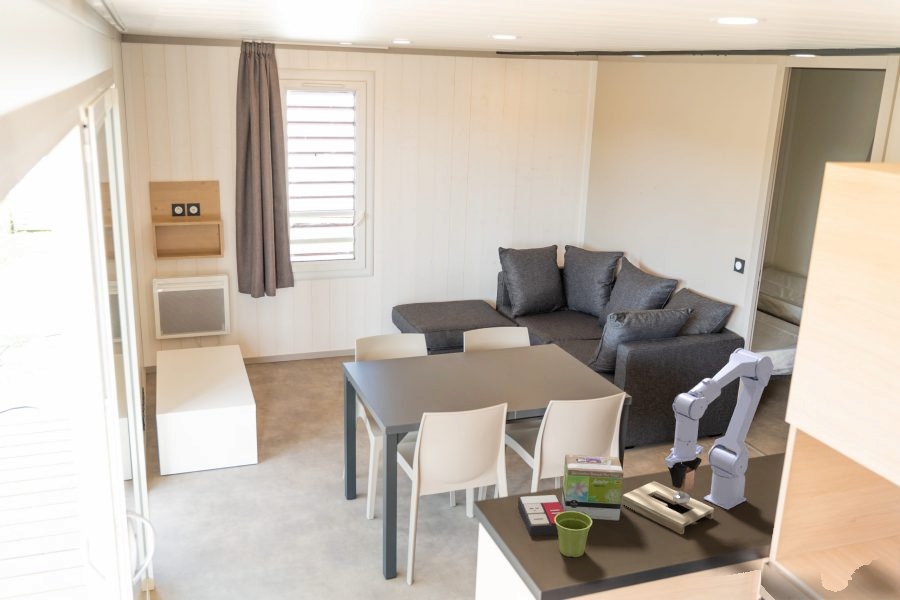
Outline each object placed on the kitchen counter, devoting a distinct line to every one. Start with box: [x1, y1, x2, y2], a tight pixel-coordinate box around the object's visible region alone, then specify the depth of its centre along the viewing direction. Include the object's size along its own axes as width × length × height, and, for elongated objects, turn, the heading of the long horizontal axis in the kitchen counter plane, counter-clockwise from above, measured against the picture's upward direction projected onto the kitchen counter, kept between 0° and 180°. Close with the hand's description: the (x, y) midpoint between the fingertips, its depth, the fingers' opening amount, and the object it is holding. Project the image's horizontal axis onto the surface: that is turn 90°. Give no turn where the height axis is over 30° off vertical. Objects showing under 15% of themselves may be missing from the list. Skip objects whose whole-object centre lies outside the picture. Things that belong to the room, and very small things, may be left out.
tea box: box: [561, 454, 624, 522], centre depth 219 cm, size 15×10×15 cm, turn 87°
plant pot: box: [554, 511, 593, 558], centre depth 200 cm, size 9×9×9 cm
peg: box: [671, 463, 696, 505], centre depth 215 cm, size 4×4×9 cm
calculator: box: [517, 494, 564, 537], centre depth 215 cm, size 11×4×15 cm
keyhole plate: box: [621, 480, 715, 535], centre depth 220 cm, size 14×20×3 cm
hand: (681, 484), depth 215 cm, fingers closed on peg, 4 cm apart
